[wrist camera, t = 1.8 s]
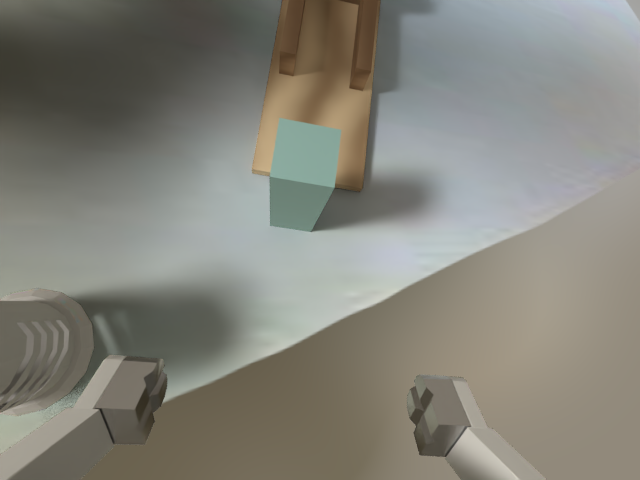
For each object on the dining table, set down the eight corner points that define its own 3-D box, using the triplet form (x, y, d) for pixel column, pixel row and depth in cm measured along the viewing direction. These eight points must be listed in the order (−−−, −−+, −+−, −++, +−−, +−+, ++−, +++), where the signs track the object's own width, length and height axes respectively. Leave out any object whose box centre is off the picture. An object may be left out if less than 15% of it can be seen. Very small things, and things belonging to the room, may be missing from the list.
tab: (270, 225, 31) (269, 176, 19) (276, 186, 32) (279, 117, 20) (310, 231, 31) (334, 187, 20) (315, 193, 32) (341, 129, 20)
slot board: (252, 173, 31) (246, 130, 24) (286, -19, 37) (291, -105, 29) (359, 191, 33) (387, 156, 25) (378, 4, 38) (405, -73, 30)
